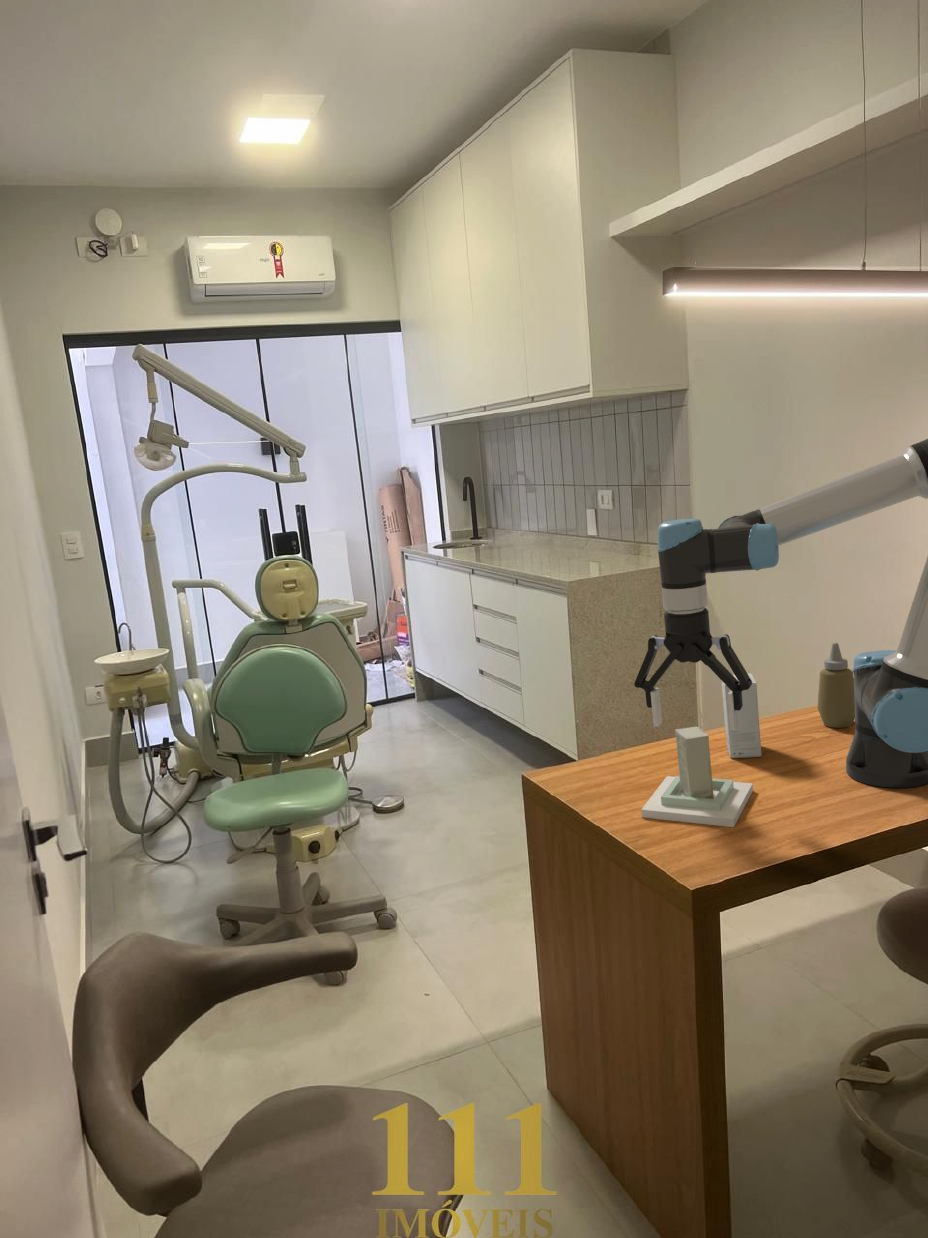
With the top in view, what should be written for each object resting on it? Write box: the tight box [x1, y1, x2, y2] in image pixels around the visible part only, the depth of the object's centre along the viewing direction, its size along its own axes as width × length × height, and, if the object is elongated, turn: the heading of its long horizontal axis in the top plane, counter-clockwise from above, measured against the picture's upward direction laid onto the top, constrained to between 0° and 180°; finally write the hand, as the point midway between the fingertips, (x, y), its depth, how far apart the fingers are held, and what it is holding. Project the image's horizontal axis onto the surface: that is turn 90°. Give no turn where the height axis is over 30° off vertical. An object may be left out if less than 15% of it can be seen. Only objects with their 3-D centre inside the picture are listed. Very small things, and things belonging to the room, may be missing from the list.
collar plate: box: [641, 775, 754, 828], centre depth 162 cm, size 16×16×3 cm
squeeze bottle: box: [817, 642, 855, 729], centre depth 192 cm, size 8×8×18 cm
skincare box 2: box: [721, 673, 762, 759], centre depth 183 cm, size 8×7×16 cm
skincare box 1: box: [674, 725, 714, 799], centre depth 161 cm, size 6×4×12 cm
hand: (695, 726), depth 159 cm, fingers open, 13 cm apart
